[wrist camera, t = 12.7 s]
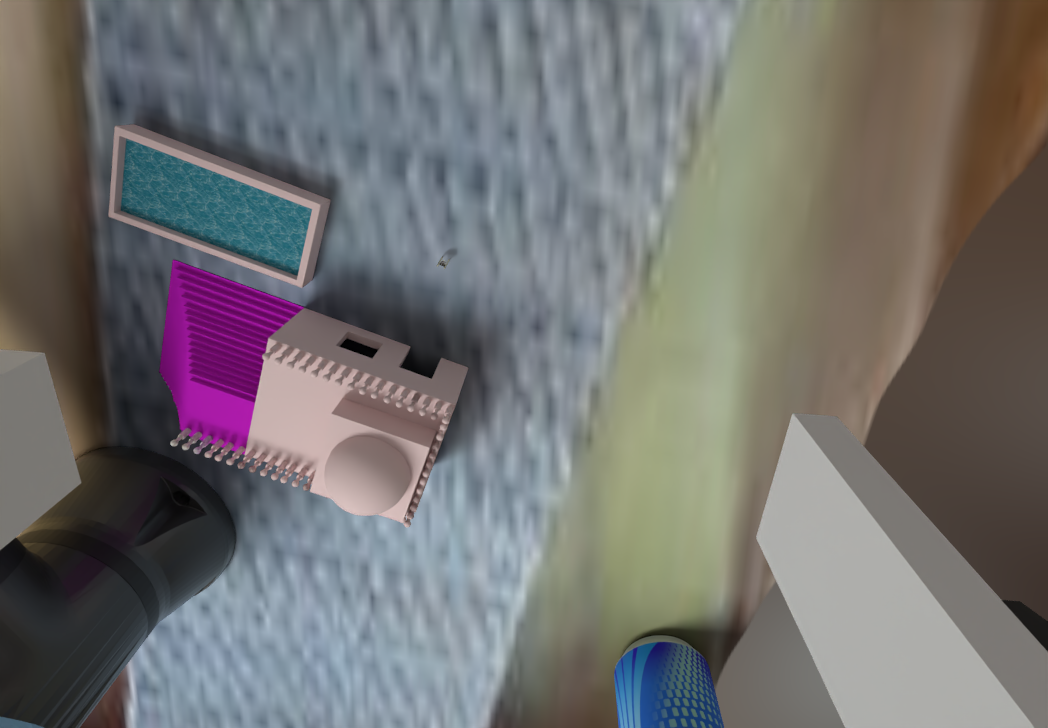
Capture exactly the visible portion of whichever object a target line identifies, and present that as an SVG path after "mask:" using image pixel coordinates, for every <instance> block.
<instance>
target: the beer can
mask: <svg viewBox="0 0 1048 728" xmlns="http://www.w3.org/2000/svg"><path fill="white" fill-rule="evenodd" d="M614 677H615V689H616V700H617V712H618V723H619V728H724V725H723V721H722V717H721V714H720V709H719V705H718V701H717V697H716V693H715V689H714V685H713V681H712V677H711V673H710V669H709V666H708V664H707V662H706V660H705V659H704V657H703V656H702V655H701V654H700V653H699V652H698V651H696V650H695V649H693V647H692V646H690V645H689V644H688V643H687V642H685V641H683V640H681V639H679V638H676V637H672V636H666V635H655V636H649V637H645V638H642V639H640V640H638V641H636V642H634V643H633V644H631V645H630V646H629V647H628V648H627V649H626V651H625V652H624V654H623V656H622V657H621V658H620V659H619V661H618V663H617V665H616V668H615V673H614Z"/></svg>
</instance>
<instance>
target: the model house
mask: <svg viewBox="0 0 1048 728" xmlns="http://www.w3.org/2000/svg"><path fill="white" fill-rule="evenodd" d="M330 201H331V200H330V199H327V198H325V197H322V196H319V195H317V194H314V193H312V192H309V191H306V190H304V189H301V188H299V187H296V186H293V185H291V184H288V183H286V182H283V181H280V180H278V179H275V178H273V177H270V176H267V175H265V174H262V173H260V172H257V171H254V170H252V169H249V168H246V167H244V166H241V165H239V164H236V163H233V162H231V161H228V160H226V159H223V158H220V157H218V156H215V155H213V154H210V153H207V152H205V151H202V150H200V149H197V148H194V147H192V146H189V145H187V144H184V143H181V142H179V141H176V140H174V139H171V138H168V137H166V136H163V135H161V134H158V133H155V132H153V131H150V130H148V129H145V128H142V127H140V126H137V125H135V124H131V125H120V126H115V131H114V145H113V159H112V174H111V188H110V202H109V217H111V218H114V219H116V220H119V221H122V222H125V223H127V224H130V225H133V226H135V227H138V228H141V229H144V230H146V231H149V232H152V233H154V234H157V235H160V236H163V237H165V238H168V239H171V240H173V241H176V242H179V243H182V244H184V245H187V246H190V247H192V248H195V249H198V250H201V251H203V252H206V253H209V254H211V255H214V256H217V257H220V258H222V259H225V260H228V261H230V262H233V263H236V264H239V265H241V266H244V267H247V268H249V269H252V270H255V271H258V272H260V273H263V274H266V275H268V276H271V277H274V278H277V279H279V280H282V281H285V282H288V283H290V284H293V285H296V286H298V287H301V288H303V287H304V286H305V285H307V284H308V283H309V282H310V281H312V279H313V275H314V271H315V266H316V262H317V258H318V253H319V249H320V245H321V240H322V236H323V232H324V227H325V223H326V219H327V214H328V210H329V206H330ZM442 258H443V257H442ZM442 258H441V260H442ZM441 260H440V261H439V263H438V265H441V266H444V269H445V268H446V266H447V264H448V262H449V260H450V259H449V260H448V262H447V261H446V262H447V263H446V262H444V260H443V261H441ZM438 265H437V266H438ZM346 338H347V339H350V340H353V341H355V342H358V343H361V344H364V345H366V346H369V347H372V348H375V349H377V350H378V351H377V353H376V354H375V356H374V357H373V358H369V357H367V356H364V355H361V354H358V353H356V352H353V351H350V350H347V349H345V348H342V347H339V346H340V345H341V344H342V343H343V342H344V341H345V339H346ZM410 347H411V346H408V345H405V344H402V343H400V342H397V341H394V340H391V339H389V338H386V337H383V336H380V335H378V334H375V333H372V332H369V331H367V330H364V329H361V328H358V327H356V326H353V325H350V324H347V323H345V322H342V321H339V320H337V319H334V318H331V317H328V316H326V315H323V314H320V313H317V312H315V311H312V310H309V309H306V308H304V307H302V306H299V305H297V304H294V303H291V302H289V301H286V300H283V299H280V298H278V297H275V296H272V295H269V294H267V293H264V292H261V291H258V290H256V289H253V288H250V287H247V286H245V285H242V284H239V283H236V282H234V281H231V280H228V279H225V278H223V277H220V276H217V275H214V274H212V273H209V272H206V271H203V270H201V269H198V268H195V267H193V266H190V265H187V264H184V263H182V262H179V261H176V260H173V262H172V271H171V279H170V287H169V295H168V304H167V312H166V320H165V329H164V337H163V345H162V353H161V362H160V370H159V373H161V374H162V376H161V377H164V381H166V382H167V383H166V385H168V386H169V390H172V393H171V394H173V396H172V397H173V398H174V400H173V401H174V402H176V404H175V406H177V410H178V414H179V416H178V418H179V422H180V425H179V426H180V430H182V432H181V433H180V434H179V435H178V436H177V437H178V438H177V439H176V440H175V439H174V440H172V441H171V442H170V444H171V446H177V445H178V442H179V441H180V440H183V439H184V438H186V437H187V436H190V437H191V438H190V439H189V442H188V443H185V444H183V445H182V449H183V450H188V449H189V448H190V445H191V444H194V443H195V442H196V441H197V440H202V442H201V443H200V446H199V447H196V448H194V450H193V452H194V453H195V454H199V453H200V452H201V449H202V448H205V447H206V446H207V445H208V444H209V443H211V444H214V445H213V446H212V447H211V450H210V451H207V452H205V457H207V458H210V457H211V456H212V453H213V452H214V451H217V450H218V449H219V448H220V447H223V449H222V450H221V453H220V454H218V455H216V456H215V460H216V461H221V460H222V456H223V455H226V454H227V453H228V452H229V451H230V450H232V451H235V452H234V454H233V455H232V456H233V457H232V458H229V459H228V460H227V464H228V465H232V464H233V463H234V460H235V459H237V458H239V456H240V455H241V454H244V455H246V456H245V457H244V458H243V460H244V461H243V462H240V463H238V468H240V469H243V468H244V467H245V464H246V462H249V461H250V460H251V459H252V458H256V459H257V460H256V461H255V462H254V466H250V467H249V471H250V472H251V473H253V472H255V471H256V467H257V466H260V465H261V464H262V462H263V461H265V462H267V464H266V466H265V467H266V468H265V469H263V470H261V471H260V475H261V476H266V475H267V471H268V470H270V469H271V468H272V467H273V466H274V465H276V466H279V467H278V468H277V469H276V471H277V472H276V473H273V474H272V475H271V478H272V479H273V480H277V479H278V475H279V473H282V472H283V471H284V469H288V470H287V471H286V472H285V474H286V475H285V476H283V477H281V479H280V481H281V482H282V483H286V482H287V480H288V476H291V475H292V473H293V472H297V473H299V474H298V475H297V479H296V480H294V481H293V482H292V486H293V487H297V486H298V485H299V481H300V480H302V479H303V478H304V476H305V475H306V476H309V478H308V480H307V482H308V483H307V484H304V485H303V489H304V490H305V491H307V490H309V489H310V484H312V486H311V490H310V492H312V493H315V494H318V495H321V496H324V497H326V498H330V499H333V501H334V502H335V503H336V504H337V505H338V506H339V507H341V508H342V509H343V510H345V511H347V512H349V513H351V514H355V515H360V516H369V515H376V514H378V515H380V516H384V517H387V518H390V519H393V520H396V521H399V522H401V523H404V526H405V527H409V526H410V525H411V522H410V520H411V519H412V518H413V517H414V512H416V510H417V507H418V504H419V502H420V499H421V496H422V494H423V491H424V488H425V486H426V483H427V480H428V478H429V475H430V472H431V470H432V467H433V464H434V462H435V459H436V456H437V454H438V451H439V449H440V446H441V443H442V441H443V438H444V435H445V433H446V430H447V427H448V425H449V422H450V419H451V417H452V414H453V411H454V409H455V406H456V403H457V400H458V397H459V394H460V391H461V389H462V386H463V383H464V380H465V377H466V374H467V371H468V367H465V366H463V365H460V364H457V363H454V362H452V361H449V360H446V359H444V358H441V360H440V362H439V364H438V366H437V368H436V371H435V373H434V375H433V377H432V379H430V378H428V377H425V376H422V375H419V374H417V373H414V372H411V371H408V370H406V369H403V368H400V367H401V365H402V363H403V362H404V360H405V358H406V356H407V355H408V353H409V350H410ZM406 515H407V521H406V517H405V516H406Z"/></svg>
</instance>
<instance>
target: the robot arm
mask: <svg viewBox="0 0 1048 728" xmlns="http://www.w3.org/2000/svg"><path fill="white" fill-rule="evenodd" d="M20 533H21V534H20ZM19 534H20V535H19ZM18 535H19V536H18ZM17 536H18V537H17ZM16 537H17V538H16ZM756 538H757V541H758V543H759V545H760V547H761V549H762V551H763V553H764V556H765V558H766V560H767V562H768V564H769V566H770V568H771V570H772V573H773V575H774V577H775V579H776V581H777V583H778V585H779V587H780V590H781V592H782V594H783V596H784V598H785V600H786V602H787V605H788V607H789V609H790V611H791V613H792V615H793V617H794V619H795V622H796V624H797V626H798V628H799V630H800V632H801V634H802V637H803V639H804V641H805V643H806V645H807V647H808V649H809V651H810V654H811V656H812V658H813V660H814V662H815V664H816V666H817V668H818V670H819V673H820V675H821V677H822V679H823V681H824V683H825V685H826V688H827V690H828V692H829V694H830V696H831V698H832V700H833V703H834V704H835V707H836V709H837V711H838V713H839V715H840V717H841V720H842V722H843V724H844V726H845V728H1048V621H1046V620H1045V619H1043V618H1042V617H1041V616H1039V615H1038V614H1037V613H1035V612H1034V611H1032V610H1031V609H1030V608H1028V607H1027V606H1026V605H1024V604H1023V603H1021V602H1020V601H1008V600H1001V599H1000V598H999V597H998V596H997V595H996V594H995V592H994V591H993V590H992V589H991V588H990V587H989V586H988V585H987V584H986V583H985V581H984V580H983V579H982V578H981V577H980V576H979V575H978V574H977V572H976V571H975V570H974V569H973V568H972V567H971V566H970V565H969V564H968V563H967V561H966V560H965V559H964V558H963V557H962V556H961V555H960V554H959V552H958V551H957V550H956V549H955V548H954V547H953V546H952V545H951V543H950V542H949V541H948V540H947V539H946V538H945V537H944V536H943V534H942V533H941V532H940V531H939V530H938V529H937V528H936V527H935V526H934V524H933V523H932V522H931V521H930V520H929V519H928V518H927V517H926V516H925V515H924V513H923V512H922V511H921V510H920V509H919V508H918V507H917V506H916V504H915V503H914V502H913V501H912V500H911V499H910V498H909V497H908V495H906V493H905V492H904V491H903V490H902V489H901V488H900V487H899V485H898V484H897V483H896V482H895V481H894V480H893V479H892V478H891V476H889V474H888V473H887V472H886V471H885V470H884V469H883V468H882V466H881V465H880V464H879V463H878V462H877V461H876V460H875V459H874V458H873V456H872V455H871V454H870V453H869V452H868V451H867V450H866V449H865V447H864V446H863V445H862V444H861V443H860V442H859V441H858V440H857V439H856V437H855V436H854V435H853V434H852V433H851V432H850V431H849V430H848V429H847V427H846V426H845V425H844V424H843V423H842V422H841V421H840V420H839V418H838V417H837V416H825V415H812V414H800V413H793V414H792V417H791V421H790V424H789V427H788V431H787V434H786V438H785V441H784V444H783V448H782V451H781V455H780V458H779V461H778V465H777V468H776V472H775V475H774V479H773V482H772V485H771V489H770V492H769V496H768V499H767V502H766V506H765V509H764V513H763V516H762V519H761V523H760V526H759V530H758V533H757V537H756ZM234 548H235V530H234V525H233V522H232V519H231V516H230V514H229V512H228V510H227V508H226V506H225V504H224V503H223V501H222V500H221V498H220V497H219V496H218V494H217V493H216V492H215V491H214V490H213V489H212V487H211V486H210V485H209V484H208V483H207V482H205V481H204V480H203V479H202V478H201V477H200V476H198V475H197V474H196V473H195V472H193V471H192V470H190V469H189V468H187V467H186V466H184V465H182V464H181V463H179V462H177V461H175V460H173V459H171V458H168V457H166V456H164V455H161V454H158V453H155V452H152V451H148V450H144V449H139V448H133V447H108V448H102V449H98V450H94V451H92V452H89V453H87V454H85V455H83V456H81V457H80V458H78V459H77V460H75V458H74V455H73V451H72V448H71V444H70V441H69V437H68V434H67V430H66V427H65V423H64V420H63V416H62V413H61V409H60V405H59V402H58V398H57V395H56V391H55V388H54V384H53V381H52V377H51V374H50V370H49V367H48V363H47V360H46V356H45V353H41V352H29V351H16V350H4V349H1V350H0V728H80V726H81V725H82V724H83V722H84V721H85V720H86V718H87V717H88V716H89V714H90V713H91V712H92V710H93V709H94V708H95V706H96V705H97V704H98V702H99V701H100V700H101V698H102V697H103V695H104V694H105V693H106V691H107V690H108V689H109V687H110V686H111V685H112V683H113V682H114V681H115V679H116V678H117V677H118V675H119V674H120V673H121V671H122V670H123V669H124V667H125V666H126V665H127V663H128V662H129V661H130V659H131V658H132V657H133V655H134V654H135V653H136V651H137V650H138V649H139V647H140V646H141V645H142V643H143V642H144V641H145V639H146V638H147V637H148V635H149V634H150V633H151V631H152V630H153V629H154V627H155V626H156V625H157V624H158V623H159V622H160V621H161V620H163V619H164V618H165V617H167V616H168V615H169V614H171V613H172V612H173V611H175V610H176V609H177V608H179V607H180V606H181V605H183V604H184V603H185V602H186V601H188V600H189V599H190V598H191V597H193V596H195V595H197V594H198V593H200V592H202V591H203V590H205V589H206V588H208V587H209V586H210V585H211V584H212V583H213V582H214V581H215V580H216V579H217V578H218V577H219V576H220V574H221V573H222V572H223V570H224V569H225V567H226V566H227V565H228V563H229V561H230V560H231V557H232V555H233V552H234Z"/></svg>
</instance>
